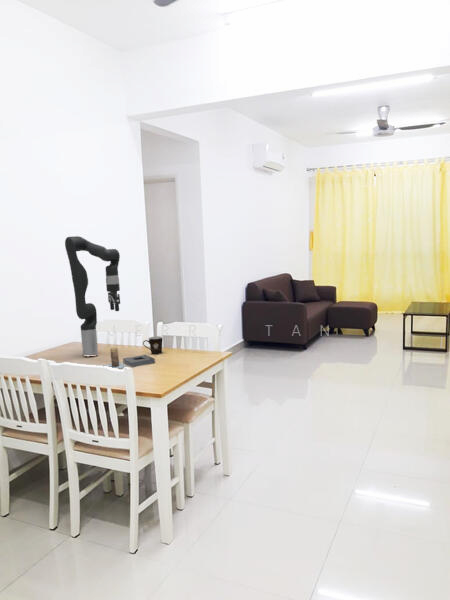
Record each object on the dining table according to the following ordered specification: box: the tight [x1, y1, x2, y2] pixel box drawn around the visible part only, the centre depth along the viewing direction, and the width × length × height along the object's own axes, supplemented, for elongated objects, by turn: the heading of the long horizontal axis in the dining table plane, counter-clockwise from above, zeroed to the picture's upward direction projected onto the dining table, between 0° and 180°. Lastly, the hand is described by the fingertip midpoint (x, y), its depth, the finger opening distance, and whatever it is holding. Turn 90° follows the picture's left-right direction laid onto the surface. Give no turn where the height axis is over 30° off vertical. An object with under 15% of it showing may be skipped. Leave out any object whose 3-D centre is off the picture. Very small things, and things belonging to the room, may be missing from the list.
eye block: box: [122, 354, 156, 368], centre depth 283 cm, size 14×14×2 cm
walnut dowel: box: [109, 347, 120, 367], centre depth 276 cm, size 4×4×10 cm
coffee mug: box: [142, 335, 163, 356], centre depth 306 cm, size 12×9×10 cm
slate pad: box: [102, 361, 129, 370], centre depth 276 cm, size 14×10×1 cm
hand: (114, 310), depth 289 cm, fingers open, 8 cm apart
